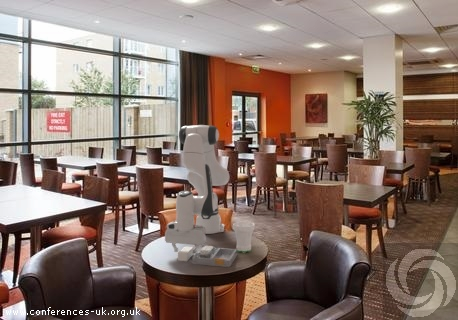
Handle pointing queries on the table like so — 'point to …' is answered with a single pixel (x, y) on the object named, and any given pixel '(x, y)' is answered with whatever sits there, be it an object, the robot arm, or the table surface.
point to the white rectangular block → (185, 253)
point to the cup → (243, 235)
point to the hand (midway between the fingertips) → (185, 252)
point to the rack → (214, 256)
